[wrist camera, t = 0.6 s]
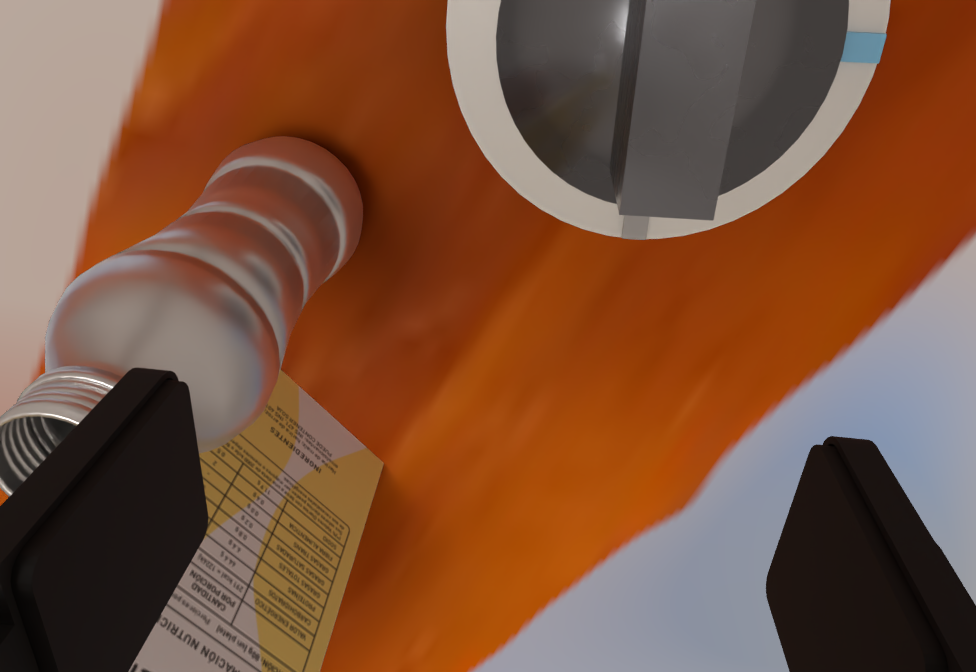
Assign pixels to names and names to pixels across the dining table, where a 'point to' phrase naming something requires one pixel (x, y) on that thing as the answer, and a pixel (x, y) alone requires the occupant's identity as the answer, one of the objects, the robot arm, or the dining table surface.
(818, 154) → the dial housing
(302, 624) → the pasta box
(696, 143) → the dial knob
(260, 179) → the plastic bottle
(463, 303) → the dining table surface
